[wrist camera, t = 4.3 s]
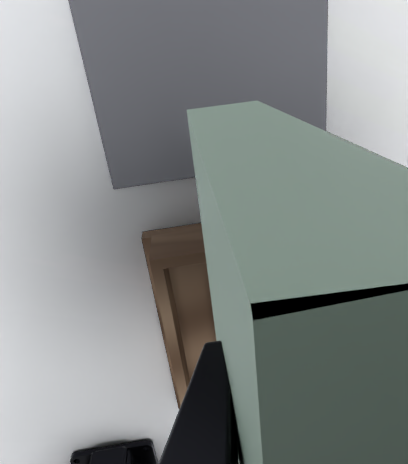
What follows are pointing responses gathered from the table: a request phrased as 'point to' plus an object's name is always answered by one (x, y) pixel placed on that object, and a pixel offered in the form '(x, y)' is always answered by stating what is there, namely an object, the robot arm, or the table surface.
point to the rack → (181, 297)
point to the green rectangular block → (305, 285)
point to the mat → (194, 71)
